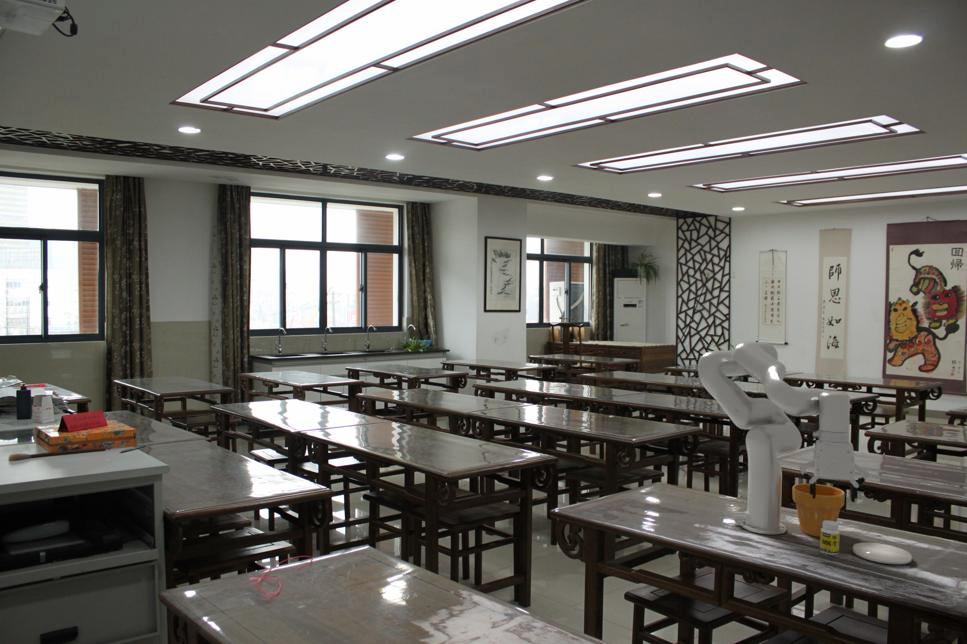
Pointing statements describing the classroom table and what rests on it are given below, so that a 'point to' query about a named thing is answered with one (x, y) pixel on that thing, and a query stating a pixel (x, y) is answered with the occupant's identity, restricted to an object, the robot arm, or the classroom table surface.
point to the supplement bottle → (830, 538)
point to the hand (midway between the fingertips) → (833, 499)
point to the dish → (882, 553)
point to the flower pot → (817, 506)
